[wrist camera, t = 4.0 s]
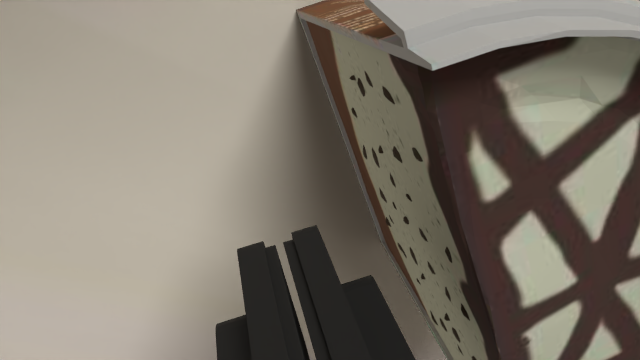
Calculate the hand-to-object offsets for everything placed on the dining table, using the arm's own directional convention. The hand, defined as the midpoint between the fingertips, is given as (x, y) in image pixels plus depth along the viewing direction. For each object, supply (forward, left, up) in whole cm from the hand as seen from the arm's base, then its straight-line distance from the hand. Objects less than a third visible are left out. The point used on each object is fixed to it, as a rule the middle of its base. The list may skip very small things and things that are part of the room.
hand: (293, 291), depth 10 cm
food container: (-6, 0, -7) cm, 9 cm away
